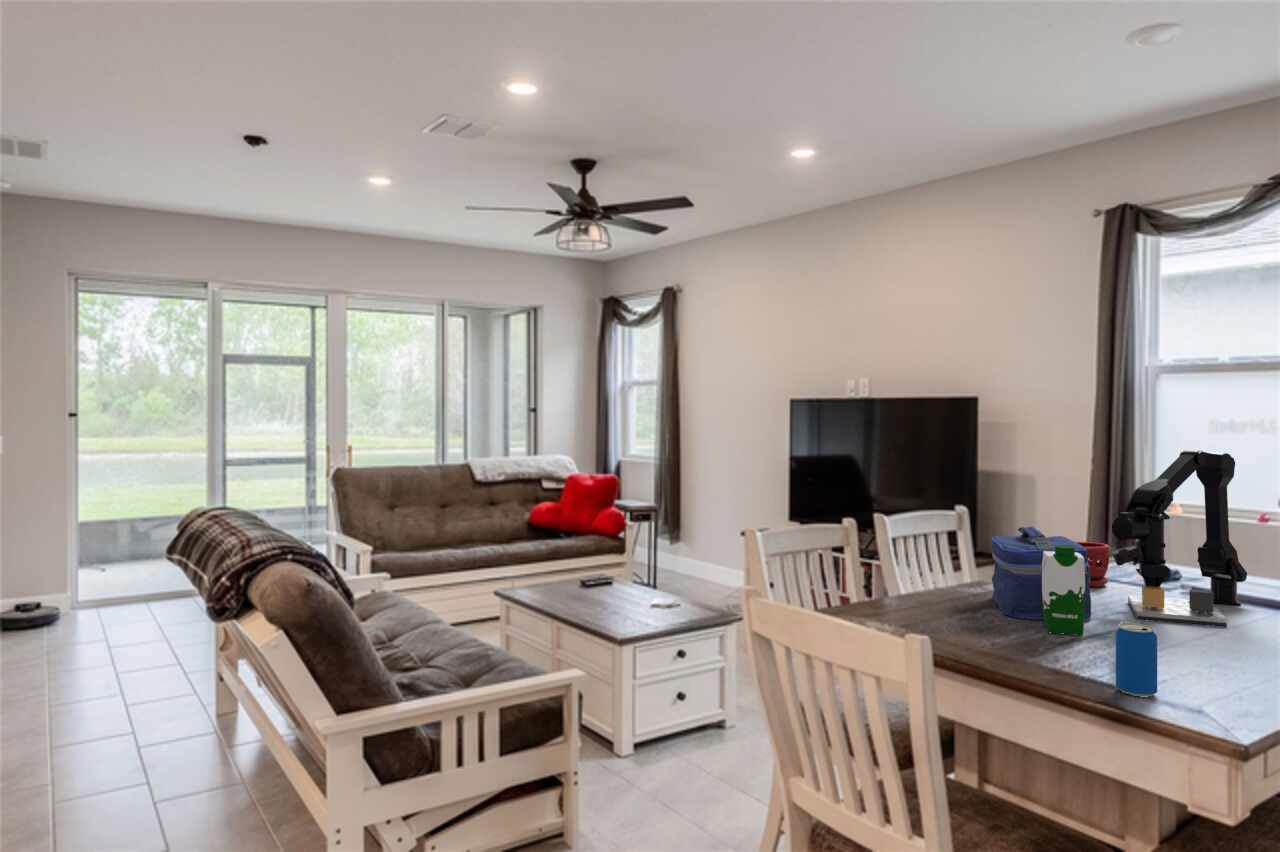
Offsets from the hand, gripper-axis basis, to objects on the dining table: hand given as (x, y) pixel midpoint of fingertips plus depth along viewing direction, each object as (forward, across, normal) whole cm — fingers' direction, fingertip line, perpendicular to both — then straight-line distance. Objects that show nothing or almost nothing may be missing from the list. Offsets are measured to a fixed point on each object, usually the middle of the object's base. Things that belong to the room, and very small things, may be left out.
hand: (1150, 599), depth 209 cm
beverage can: (+4, +70, -11) cm, 71 cm away
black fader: (+2, +4, +10) cm, 11 cm away
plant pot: (+4, -32, -13) cm, 34 cm away
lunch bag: (+4, +6, -26) cm, 27 cm away
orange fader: (+2, +4, 0) cm, 4 cm away
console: (+3, 0, +5) cm, 6 cm away
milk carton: (+4, +28, -21) cm, 35 cm away
